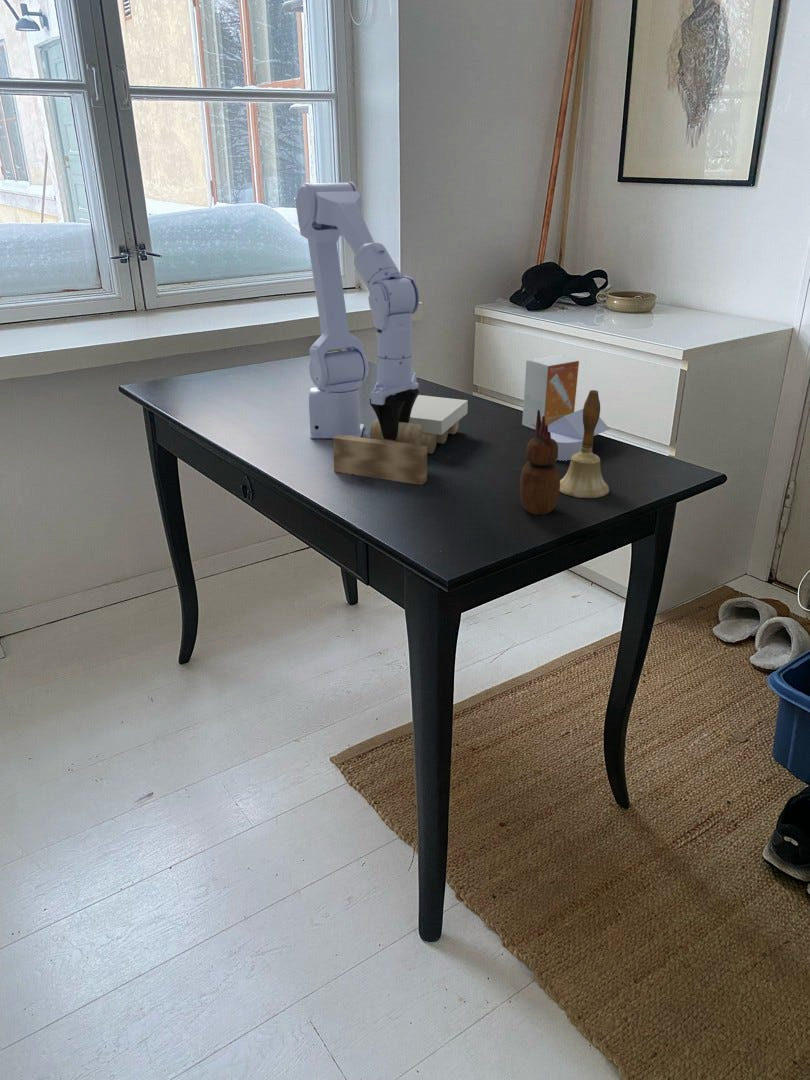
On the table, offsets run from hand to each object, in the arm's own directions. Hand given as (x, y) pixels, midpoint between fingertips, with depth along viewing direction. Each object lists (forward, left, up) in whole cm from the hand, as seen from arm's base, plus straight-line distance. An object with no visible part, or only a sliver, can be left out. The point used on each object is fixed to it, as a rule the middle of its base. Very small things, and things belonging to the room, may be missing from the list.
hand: (395, 435), depth 139 cm
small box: (+29, +23, -5) cm, 37 cm away
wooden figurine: (+23, -19, -5) cm, 30 cm away
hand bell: (+31, -10, -5) cm, 33 cm away
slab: (+5, +13, -1) cm, 14 cm away
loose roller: (0, 0, -2) cm, 2 cm away
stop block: (-2, -6, -5) cm, 8 cm away
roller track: (+3, +9, -5) cm, 10 cm away
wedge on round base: (+31, +9, -5) cm, 32 cm away
